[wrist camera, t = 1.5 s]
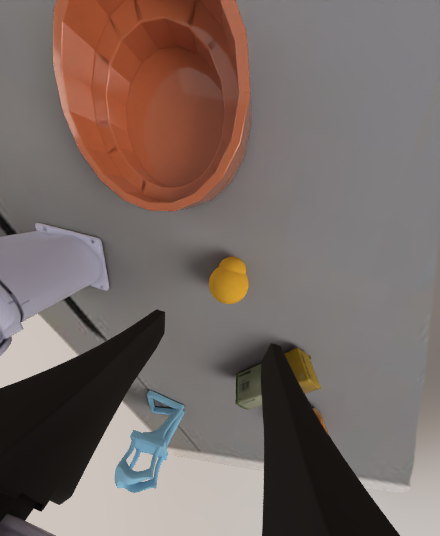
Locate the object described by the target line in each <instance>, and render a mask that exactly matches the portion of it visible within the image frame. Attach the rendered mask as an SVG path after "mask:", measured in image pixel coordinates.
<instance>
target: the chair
mask: <svg viewBox="0 0 440 536" xmlns="http://www.w3.org/2000/svg"><path fill="white" fill-rule="evenodd" d="M147 398H148V402H149V405H150V409H151V412H153V413H158V414H165V415H171V416H170V417H169V418H168V419H167V420H166V421H165V423H164V424H163V425H162V426H161V427H159V428H158V429H157V430H155V431H153V432H144V433H141V432H138V431H135V430H133V432H132V434H131V436H130V437H131V439H132V442H131V445H130V448H129V450H128V452H127V453H126V454H125V455H124V457H123V458H122V460H121V461H120V463H119V464H118V466H117V468H116V471H115V483H116V486H117V488H125V489H127V490H128V491H130V492H134V493H135V492H140V491H143V490H146V489H149V488H156V485H157V477H158V472H159V468H160V465H161V463H162V461H163V460H166V459H167V455H168V452H167V446H168V444H169V441H170V439H171V437H172V435H173V433H174V432H175V430H176V428H177V426H178V424H179V423H180V421H181V419H182V417H183V415H184V413H185V411H183V408H184V405H182V404H179V403H177V402H175V401H173V400H170V399H168V398H166V397H164V396H162V395H160V394H158V393H156V392H153V391H151V390H149V392H148V393H147ZM153 399H155V400H157V401H159V402H161V403H163V404H165V405H167V406H169V407H171V408H173V409H170V408H159V407H155V405H154V401H153ZM167 430H168V431H167ZM134 447H135V448H136V454H135V456H134V458H133V461H132V462H131V464H130V466H128V464H127V462H126V459H127V458H128V457H129V455H130V454H131V453H132V451H133V450H134ZM140 452H144V453H149V454H152V455H153V458H152V461H151V466H150V468H149V469H147V470H144V471H139V472H136V471H133V470H132V468H133V467H134V465H135V463H136V461H137V460H138V457H139V455H140ZM157 457H158V458H159V459H158V461H157V464H156V467H155V474H154V478H153V470H154V466H155V462H156V459H157ZM152 478H153V479H152ZM145 479H151V480H148V481H145V482H140V481H143V480H145Z"/></svg>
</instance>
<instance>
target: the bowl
mask: <svg viewBox="0 0 440 536" xmlns="http://www.w3.org/2000/svg"><path fill="white" fill-rule="evenodd" d="M53 12H54V13H53V64H54V65H53V67H54V72H55V77H56V82H57V86H58V91H59V96H60V101H61V106H62V110H63V111H64V112H63V113H64V116H65V118H66V120H67V123H68V125H69V127H70V130H71V132H72V134H73V137H74V139H75V141H76V144H77V146H78V148H79V150H80V152H81V153H82V155H83V156H84V157H85V159H86V160H87V162H88V163H89V165H90V166H91V167H92V169H93V170H94V172H95V173H96V174H97V176H98V177H99V179H100V180H101V181H102V182H103V183H105V184H106V185H107V186H108V187H109V188H110V189H112V190H113V191H114V192H115V193H116V194H117V195H119V196H120V197H121V198H122V199H124V200H125V201H128V202H130V203H132V204H135V205H137V206H139V207H142V208H144V209H147V210H151V211H177V210H182V209H188V208H193V207H195V206H198V205H200V204H203V203H205V202H208V201H211V200H212V199H214V198H215V197H216V196H217V195H218V194H219V193H220V192H221V191H222V190H223V189H224V188H225V187H227V186H228V185H229V184H230V182H231V181H232V179H233V177H234V175H235V173H236V171H237V170H238V168H239V166H240V164H241V162H242V160H243V158H244V156H245V151H246V146H247V142H248V137H249V132H250V127H251V99H250V80H249V64H248V48H247V35H246V30H245V27H244V24H243V21H242V18H241V15H240V12H239V9H238V6H237V4H236V1H235V0H56V3H55V7H54V10H53Z"/></svg>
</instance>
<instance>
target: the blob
mask: <svg viewBox="0 0 440 536" xmlns="http://www.w3.org/2000/svg"><path fill="white" fill-rule="evenodd" d="M248 286H249V283H248V278H247V275H246V266H245V264H244V263H243V261H242V260H240V259H239V258H237V257H228V258H225V259H224V260H222V262H221V263H220V264H219V267H218V268H216V269H215V270H214V271H213V273H212V274H211V277H210V280H209V288H210V291H211V294H212V295H213V297H214V298H215V299H216V300H218V301H219V302H222V303H225V304H233V303H236V302H238V301H240V300H241V299H242V298H243V297H244V296H245V295H246V293H247V291H248Z"/></svg>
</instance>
